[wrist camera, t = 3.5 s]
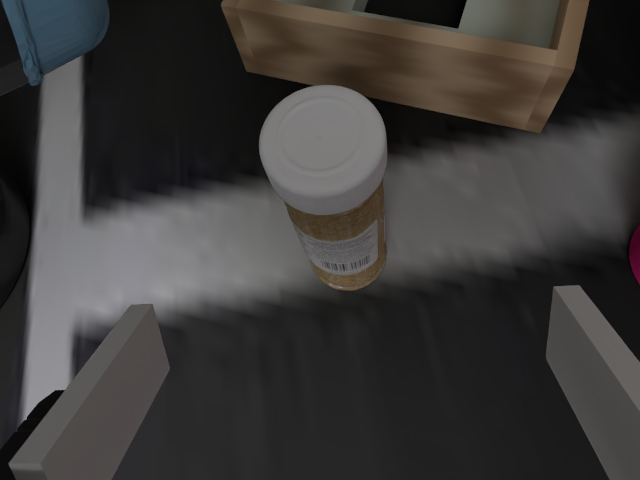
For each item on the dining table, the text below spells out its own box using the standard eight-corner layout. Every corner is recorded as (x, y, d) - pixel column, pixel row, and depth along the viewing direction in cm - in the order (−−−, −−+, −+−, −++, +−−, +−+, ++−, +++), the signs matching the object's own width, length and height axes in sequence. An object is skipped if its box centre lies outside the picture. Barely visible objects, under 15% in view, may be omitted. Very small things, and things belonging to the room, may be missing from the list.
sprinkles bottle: (392, 226, 30) (397, 86, 18) (378, 300, 29) (374, 203, 16) (318, 215, 31) (273, 73, 19) (301, 285, 30) (241, 183, 17)
